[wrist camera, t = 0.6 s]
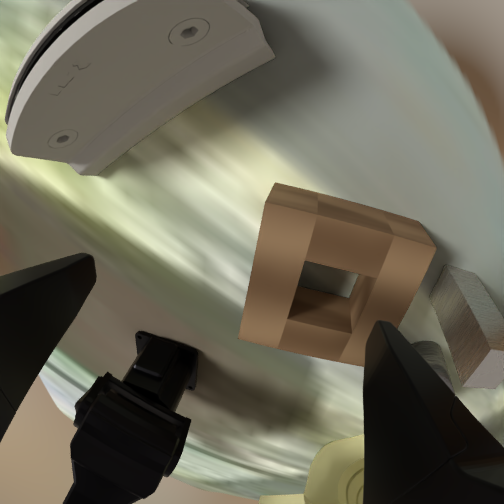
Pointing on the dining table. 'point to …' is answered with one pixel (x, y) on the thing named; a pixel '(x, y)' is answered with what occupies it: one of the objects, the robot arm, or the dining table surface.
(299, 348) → the socket block
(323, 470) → the slatted curved stool
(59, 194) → the dining table surface
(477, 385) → the square bit
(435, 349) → the cylinder
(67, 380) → the dining table surface
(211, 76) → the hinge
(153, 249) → the dining table surface
